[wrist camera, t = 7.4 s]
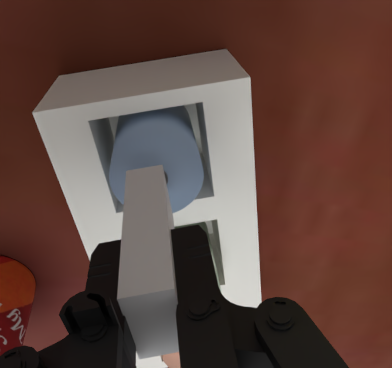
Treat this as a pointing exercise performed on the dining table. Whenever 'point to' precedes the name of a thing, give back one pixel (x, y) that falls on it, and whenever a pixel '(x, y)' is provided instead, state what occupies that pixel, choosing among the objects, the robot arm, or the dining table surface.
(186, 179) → the button one
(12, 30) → the dining table surface
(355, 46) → the dining table surface
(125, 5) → the dining table surface
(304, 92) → the dining table surface
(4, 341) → the coffee cup
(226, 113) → the panel
